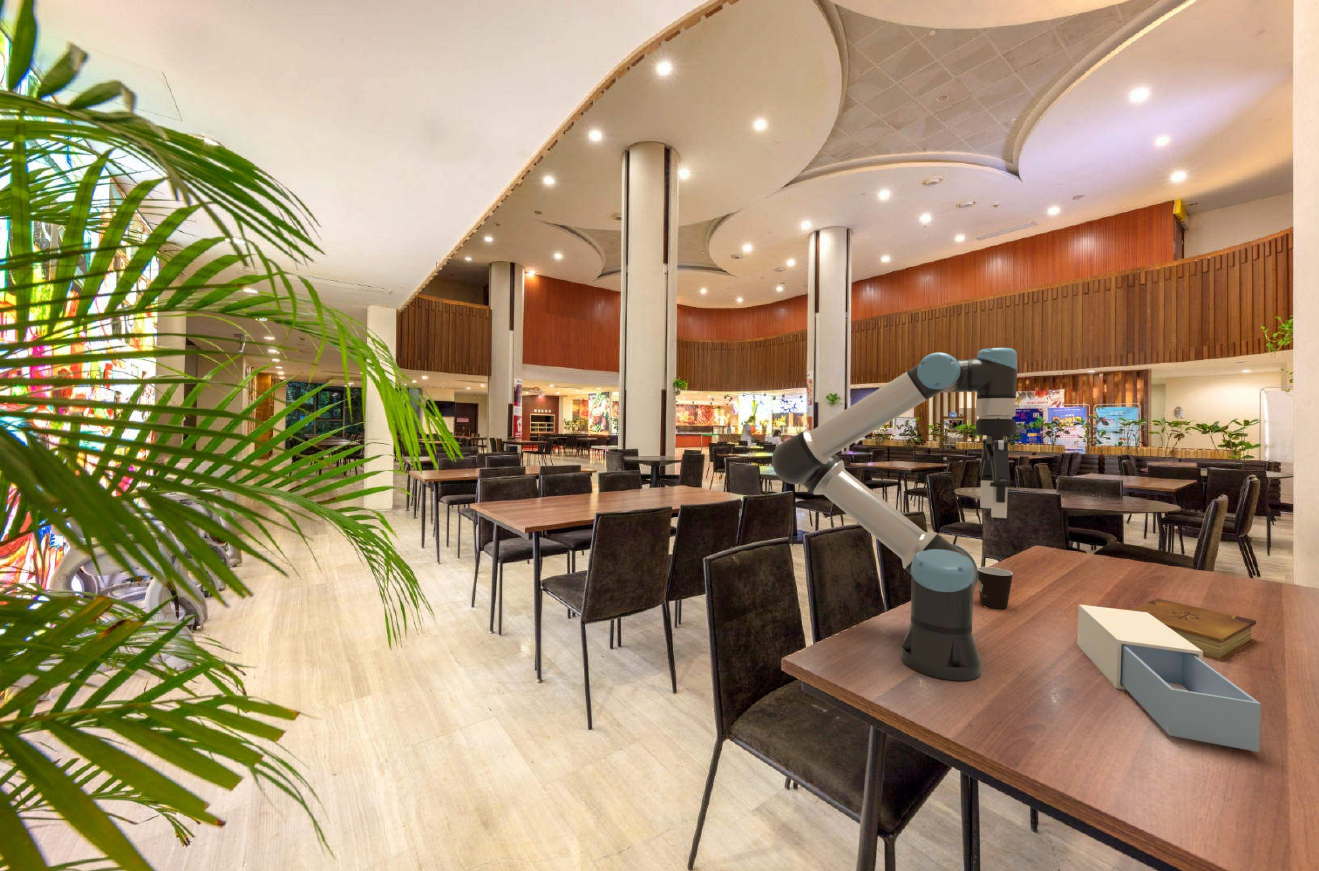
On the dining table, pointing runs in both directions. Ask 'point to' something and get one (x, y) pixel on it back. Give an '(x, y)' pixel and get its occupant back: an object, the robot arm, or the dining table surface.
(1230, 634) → the diary
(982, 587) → the coffee mug
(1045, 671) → the dining table surface
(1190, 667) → the tray
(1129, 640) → the mailer sleeve
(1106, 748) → the dining table surface
